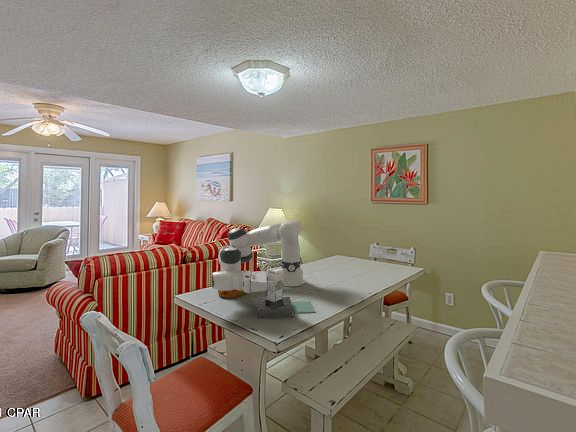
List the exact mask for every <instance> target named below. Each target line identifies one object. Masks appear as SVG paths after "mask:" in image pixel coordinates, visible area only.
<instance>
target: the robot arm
mask: <svg viewBox="0 0 576 432" xmlns="http://www.w3.org/2000/svg"><path fill="white" fill-rule="evenodd" d="M302 232H303V224H302V223H301V222H300V221H299V220H297V219H289V220H285V221H282V222H277V223H273V224H270V225H269V224H268V225H265V226H262V227H261V226H260V227H258V228H255V229H254V228H253V229H252V230H249V231H248V230H246V229H244V228H242V227H236V228H233V229H231V230H229V231H228V232H227V234H226V235H227V240H228V242H229V244H226V245H223V246H221V247H220V249H219V252H218V257H217V258H218V263H219V264H220V270H219V271H214V272H212V273H211V287H212V288H213V290H217V291H218V290H243V291H244V292H245V293H244V294H248V293H249V294H251V292H252V293H253V292H254V293H256V292H257V293H258V292H266V290H267V287H270V286H273V285H277V281H267V271H264V270H263V271H262V270H260V271H259V270H258V271H251V270H241V269H242V265H241V264H245V263H247V262H250V261H251V260H252V259H253V256H254V255H253V251H252V248H251V247H259V246H264V245H265V246H266V245H269V244H275V243H277V242H280V245H281V261H280V269H283V270H284V273H283V287H299V286H301V285H304V284H306V283H307V282H306V281H305V280H304V271H303V269H302V268H301V247H300V243H299V236H300V235H301V234H302Z"/></svg>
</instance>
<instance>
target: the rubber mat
mask: <svg viewBox="0 0 576 432" xmlns="http://www.w3.org/2000/svg"><path fill="white" fill-rule="evenodd" d="M291 304H292V307H293V314H312V313H313V314H316V310H315V308H314V306H313V303H312V302H311V301H310V300H307V301H306V300H305V301H301V300H300V301H299V300H297V301H291Z"/></svg>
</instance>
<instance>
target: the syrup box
mask: <svg viewBox="0 0 576 432" xmlns="http://www.w3.org/2000/svg"><path fill="white" fill-rule="evenodd" d="M283 273H284V270H283V269H281V267H280V268H279V267H271V268H268V269H266V274H267V281H277V285H273V286H270V287H267V290H265V297H266V300H269V301H273V302H277V301H279V300H282V299H283V297H284V286H283Z"/></svg>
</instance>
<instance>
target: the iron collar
mask: <svg viewBox="0 0 576 432" xmlns="http://www.w3.org/2000/svg"><path fill="white" fill-rule="evenodd" d="M256 299H257V300H256V320H258V319H259V320H260V319H288V318H289V319H292V318H294V312H293V307H292V304H291V302H292V300H291V297H290V296H283V299H282V300H279V301H277V302H273V301H269V300H266V296H265V297H263V296H262V297H257V298H256Z"/></svg>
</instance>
